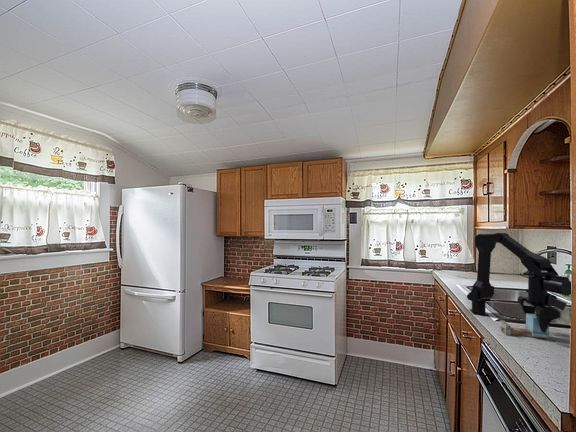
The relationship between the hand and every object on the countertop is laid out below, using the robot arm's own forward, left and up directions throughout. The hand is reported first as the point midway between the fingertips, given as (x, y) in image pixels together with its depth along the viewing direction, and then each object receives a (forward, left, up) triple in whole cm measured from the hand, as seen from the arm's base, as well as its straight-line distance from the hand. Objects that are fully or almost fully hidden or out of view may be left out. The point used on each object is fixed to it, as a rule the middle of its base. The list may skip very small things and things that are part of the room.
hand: (537, 327), depth 110 cm
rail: (0, -4, -4) cm, 6 cm away
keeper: (0, 0, -4) cm, 4 cm away
